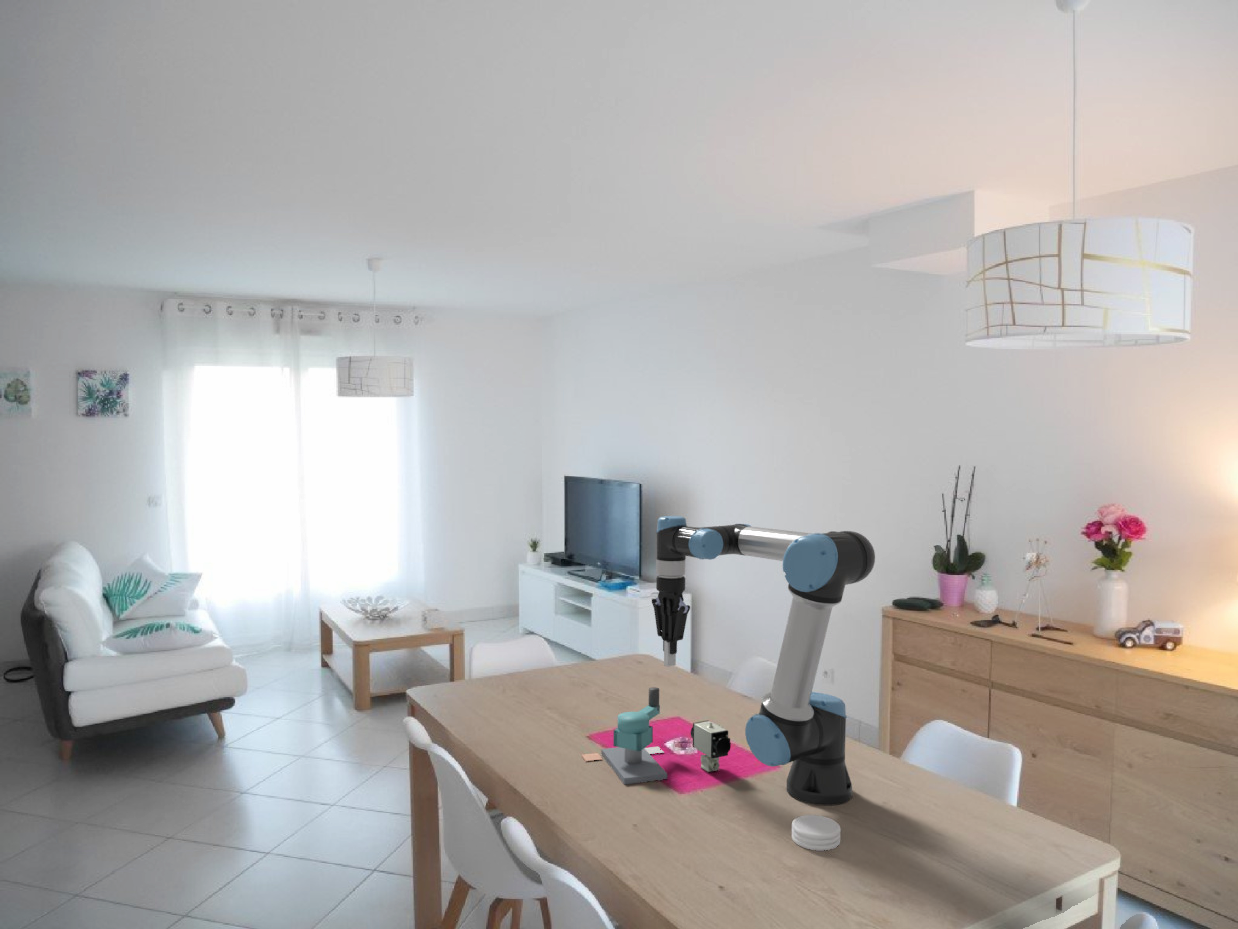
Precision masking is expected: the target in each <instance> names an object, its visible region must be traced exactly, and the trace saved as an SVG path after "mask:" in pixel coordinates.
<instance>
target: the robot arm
mask: <svg viewBox="0 0 1238 929" xmlns="http://www.w3.org/2000/svg"><path fill="white" fill-rule="evenodd" d="M656 527H657V528H656V532H655V533H656V568H655V571H656V572H655V573H656V574H657V576H656V579H655V581H656V582H655V583H656V591H658V593H657V597H655V598H652V599H651V604H652V607H653V611H654V618H655V626H656V632H657V636H658V637H661V639H662V647H663V648H662V650H663V666H664V667H667V668H668V667H673V666H676V665H677V664H676V658H677V656H676V655H677V653H678V641H683V639H684V636H685V635H684V634H685V629H686V624H687V618H688V615H689V611H690V610H691V606H690V605H689V604H686V603H685V602H684V599H685V598H684V596H683V593H684V592H685V591H686V577H685V575H686V558H687V557H691V558H696V559H699V560H714V559H716V558H717V557H718V556H719V557H720V556H725V555H738V556H747V557H755V558H760V559H766V560H775V561H781V562H782V572H783V573H785V575H784V577H785V581H786V582H787V583H788V585H787V589H788V591H789V593H790V594H791V596H792V599H791V600H792V601H791V605H790V609H789V614H788V616H787V620H786V621H787V623H786V626H785V630H784V635H783V640H782V644H781V648H780V652H779V656H778V660H777V661H778V662H777V666H776V669H775V670H776V671H775V674H774V680H773V683H772V686H771V692H768V693H767V694H765V695H763V697H762V700H761V704H760V708H759V712H758V713H755V714H754V715H752V716H751V717H749V719H748V720H747V722H746V724H745V729H744V730H745V740H746V743H747V745H748V747H749V749H750V752H751V753H752V755H753V756H754V757H755V758H756V759H757V761H759V762H760V763H762V765H763V764H764V765H765V766H768V767H778V766H785V765H788V764H790V763H791V762H792V763H791V766H790V769H789V772H788V775H787V778H786V792H787V793H788V794H789V796H791V797H793V798H794V799H796V800H799V801H800V802H804V803H808V804H811V805H819V806H837V805H841V804H845V803H847V802H849V801H850V800H851V799H852V798H853V784H852V780H851V777H850V774H849V771H848V768H847V765H846V732H847V731H846V727H847V726H846V725H847V724H846V723H847V721H846V720H847V715H846V714H847V713H846V711H847V710H846V704H845V702H844V700H842V699H841V698H839V697H837V696H835V695H831V694H828V693H823V692H816V691H815V692H814V691H813V689H814V684H815V679H816V676H817V672H818V669H819V664H820V659H821V655H822V652H823V648H824V643H825V639H826V635H827V632H828V626H829V622H830V619H831V613H832V610H833V607H836V606H837V605H838V604H841V602H842V600H843V597H844V596H843V595H844V591H845V588H846V585H852V584H856V583H859V582H861V581H863V580H864V579H865V578H867V577H868V576H869V575H870V574H871V572H872V571H873V568H874V566H875V562H876V553H875V549H874V546H873V544H872V543H871V542H870V540H869V539H868V538H867V537H866V536H864V535H863V534H861V533H859V532H856V531H852V530H843V531H842V530H841V531H832V530H830V531H828V532H826V533H824V532H823V533H820V532H816V533H811V532H802V531H793V530H787V529H786V530H785V529H773V528H766V527H758V526H757V527H756V526H752V525H750V524H747V523H735V524H729V525H728V524H727V525H718V526H716V525H715V526H702V527H697V526H696V527H694V526H688V525H687V520H686V518H685V517H684V516H681V515H680V516H678V515H665V516H660V517H659V518H658V519H657V526H656Z"/></svg>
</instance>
